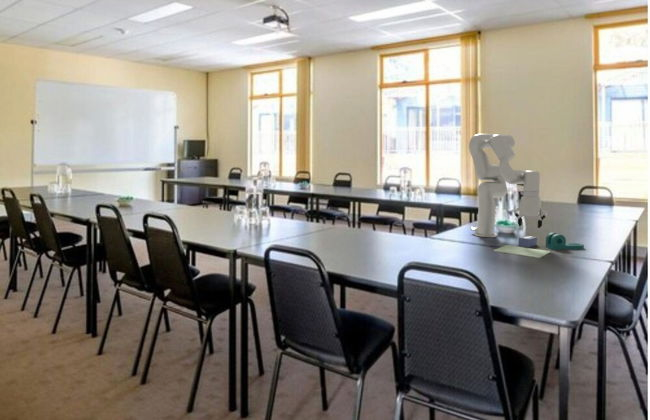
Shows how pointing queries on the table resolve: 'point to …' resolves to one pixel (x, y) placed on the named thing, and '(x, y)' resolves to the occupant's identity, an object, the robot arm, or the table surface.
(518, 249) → the mat
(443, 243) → the table surface
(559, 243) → the bracket
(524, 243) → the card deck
